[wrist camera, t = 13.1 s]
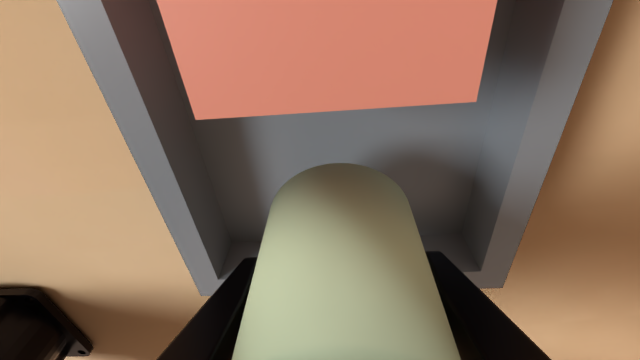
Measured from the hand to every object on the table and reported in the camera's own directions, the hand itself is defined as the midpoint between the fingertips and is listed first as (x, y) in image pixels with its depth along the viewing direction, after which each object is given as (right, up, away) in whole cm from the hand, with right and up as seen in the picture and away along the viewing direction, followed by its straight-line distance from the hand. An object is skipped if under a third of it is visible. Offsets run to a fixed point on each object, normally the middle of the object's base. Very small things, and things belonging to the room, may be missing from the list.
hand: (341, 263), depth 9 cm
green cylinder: (0, +1, +1) cm, 2 cm away
